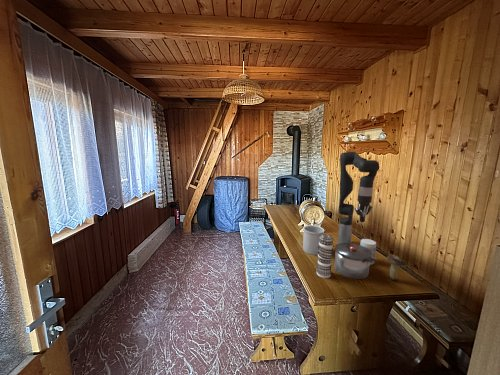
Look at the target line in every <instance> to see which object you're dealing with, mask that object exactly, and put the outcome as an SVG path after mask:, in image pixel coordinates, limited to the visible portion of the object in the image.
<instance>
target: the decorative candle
mask: <svg viewBox="0 0 500 375" xmlns="http://www.w3.org/2000/svg"><path fill="white" fill-rule="evenodd" d="M319 238H320V242H319V243H318V255H317V258H318V259H317V262H316V270H315V271H316V275H317V276H319V277H320V278H324V279H329V278H330V277H331V276H332V267H333V265H332V259H333V256H334V250H335V249H334V248H335V245H334V241H335V239H334V237H332V235H331V234H325V233H324V234H323V235H322V236H320V237H319Z"/></svg>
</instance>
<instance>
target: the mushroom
mask: <svg viewBox="0 0 500 375" xmlns="http://www.w3.org/2000/svg"><path fill="white" fill-rule="evenodd" d="M386 259H387V261H388V262H389V263H391V265H390V267H389V279H391V280H392V281H395V282H396V281H397V280H398V277H399V275H398V273H397V272H398V270H399V267H400V268H406V267H407V262H406V261H405V260H404V259H403V258H401V257H399V255H396V254H388V255H387V257H386Z"/></svg>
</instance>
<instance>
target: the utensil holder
mask: <svg viewBox="0 0 500 375" xmlns="http://www.w3.org/2000/svg"><path fill="white" fill-rule="evenodd" d="M323 234H325V229H324V228H323V227H321V226H318V225H314V224H313V225H312V224H311V225H305V226H304V227H303V239H302V241H303V242H302V251H304V253H306V254H308V255H311V256H318V243H319V242H320V238H319V237H320V236H322V235H323Z"/></svg>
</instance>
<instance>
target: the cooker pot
mask: <svg viewBox="0 0 500 375" xmlns="http://www.w3.org/2000/svg"><path fill="white" fill-rule="evenodd" d="M334 254H335V255H334V265H333V267H334V270H335V271H336V272H337V273H338V274H340V275H341V276H344V277H347V278H350V279H355V280H357V279H358V280H362V279H366V278H368V276H369V273H370V266H371V265H370V262H367V261H365V260H354V259H350V258H346V257H344V256H342V255H340V254H338V253H337V252H336V251H335V253H334Z"/></svg>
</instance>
